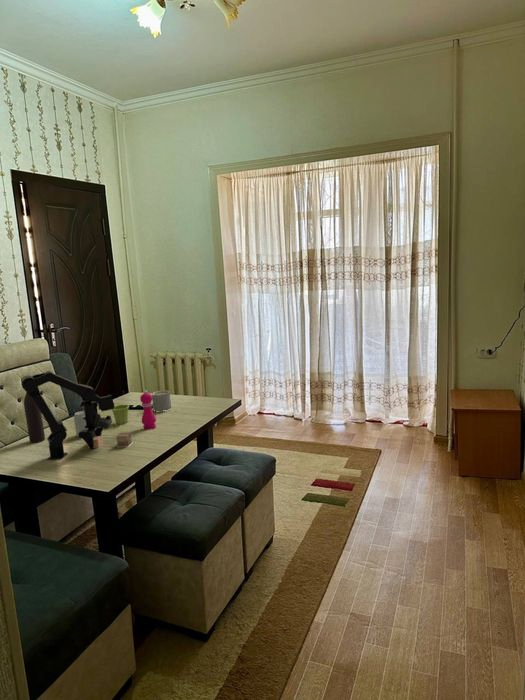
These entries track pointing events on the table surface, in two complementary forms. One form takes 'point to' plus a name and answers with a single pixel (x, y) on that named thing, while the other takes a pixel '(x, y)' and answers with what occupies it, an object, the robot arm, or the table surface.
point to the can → (79, 422)
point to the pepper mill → (147, 411)
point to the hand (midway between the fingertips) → (95, 445)
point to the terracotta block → (97, 441)
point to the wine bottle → (33, 420)
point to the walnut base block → (124, 439)
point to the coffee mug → (161, 400)
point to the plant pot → (121, 413)
